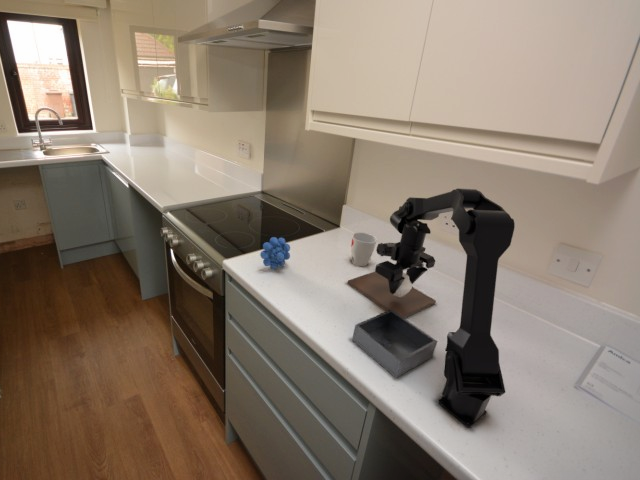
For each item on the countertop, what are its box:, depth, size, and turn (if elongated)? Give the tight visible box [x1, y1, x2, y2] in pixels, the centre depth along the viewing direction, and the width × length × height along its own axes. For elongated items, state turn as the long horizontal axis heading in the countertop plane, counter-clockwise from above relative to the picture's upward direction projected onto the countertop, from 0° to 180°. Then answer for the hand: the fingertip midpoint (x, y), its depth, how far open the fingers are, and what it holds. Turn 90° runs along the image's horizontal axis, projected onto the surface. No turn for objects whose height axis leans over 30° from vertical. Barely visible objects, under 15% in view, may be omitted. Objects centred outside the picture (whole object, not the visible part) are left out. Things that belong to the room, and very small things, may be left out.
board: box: [347, 271, 437, 319], centre depth 104 cm, size 20×16×1 cm
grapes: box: [259, 236, 291, 270], centre depth 111 cm, size 12×7×12 cm, turn 120°
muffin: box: [394, 272, 413, 297], centre depth 98 cm, size 6×6×7 cm
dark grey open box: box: [351, 310, 438, 379], centre depth 82 cm, size 13×13×5 cm
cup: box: [350, 232, 378, 267], centre depth 119 cm, size 8×8×10 cm
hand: (399, 290), depth 98 cm, fingers closed on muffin, 6 cm apart
